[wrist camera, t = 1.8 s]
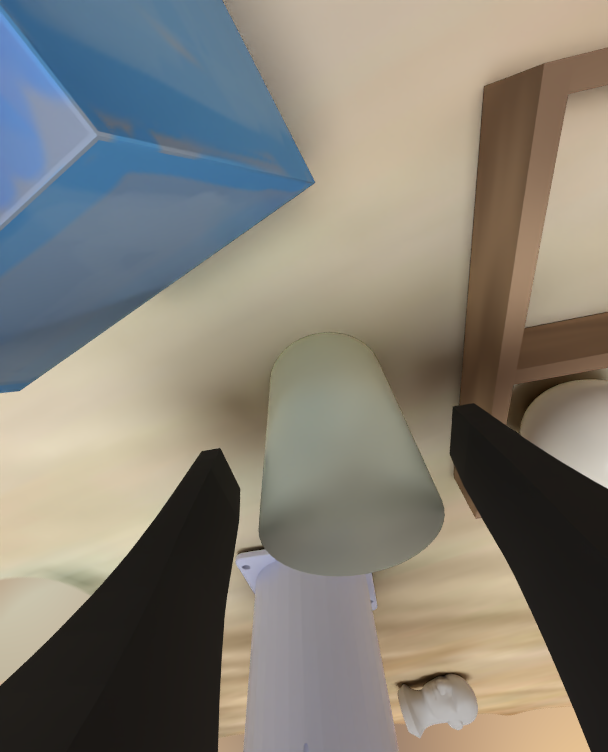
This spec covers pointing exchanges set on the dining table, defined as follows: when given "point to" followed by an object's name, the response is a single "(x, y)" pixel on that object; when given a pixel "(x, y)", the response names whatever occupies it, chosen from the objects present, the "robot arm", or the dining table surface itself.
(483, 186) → the wooden compartment tray
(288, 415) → the sage green cylinder
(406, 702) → the smooth white sculpture
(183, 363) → the dining table surface
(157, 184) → the perfume bottle
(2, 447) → the dining table surface
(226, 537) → the robot arm
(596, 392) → the egg
